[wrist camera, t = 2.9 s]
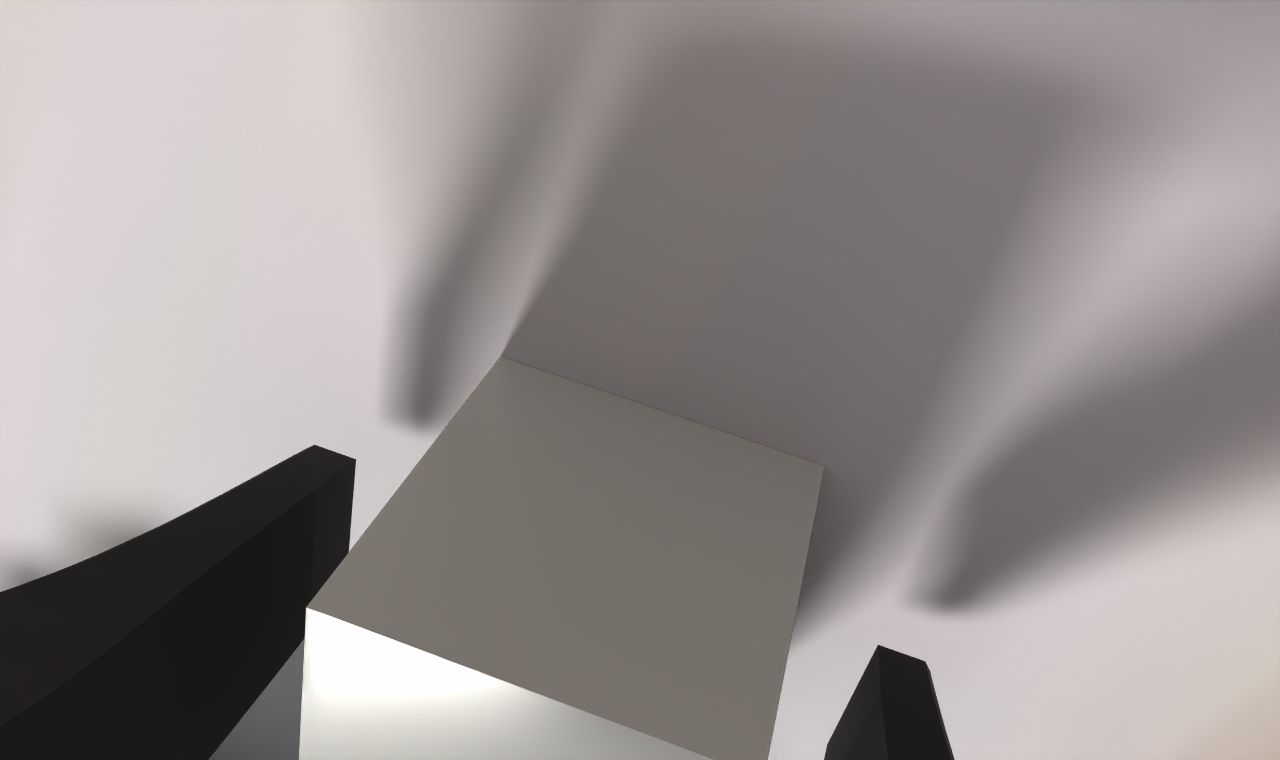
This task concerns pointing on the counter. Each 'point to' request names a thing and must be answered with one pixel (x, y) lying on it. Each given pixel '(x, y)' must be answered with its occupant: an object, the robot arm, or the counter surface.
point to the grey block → (564, 589)
